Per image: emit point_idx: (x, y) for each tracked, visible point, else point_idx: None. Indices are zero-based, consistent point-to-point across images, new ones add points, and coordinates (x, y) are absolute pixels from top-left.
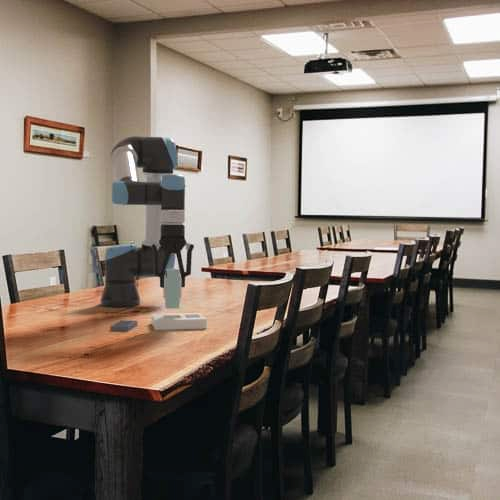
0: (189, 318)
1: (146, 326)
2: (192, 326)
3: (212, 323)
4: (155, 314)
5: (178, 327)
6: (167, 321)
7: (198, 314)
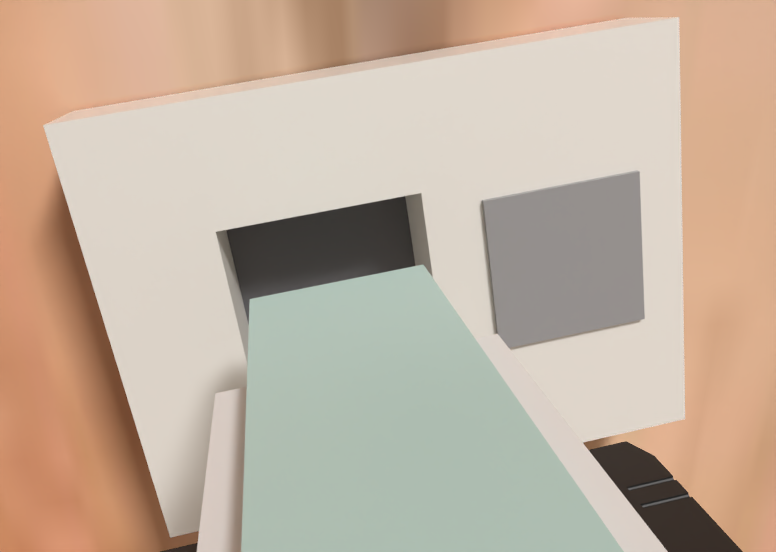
0: None
1: (48, 260)
2: None
3: (736, 68)
4: (105, 150)
5: None
6: None
7: (643, 140)
